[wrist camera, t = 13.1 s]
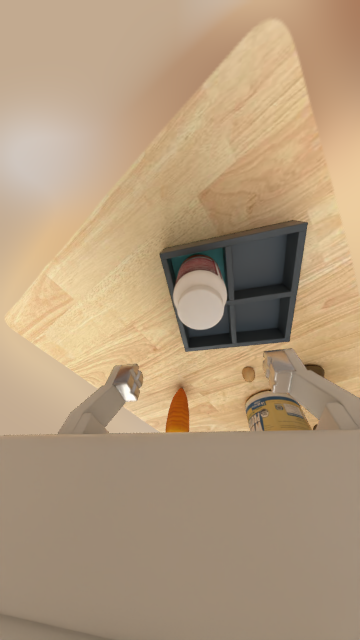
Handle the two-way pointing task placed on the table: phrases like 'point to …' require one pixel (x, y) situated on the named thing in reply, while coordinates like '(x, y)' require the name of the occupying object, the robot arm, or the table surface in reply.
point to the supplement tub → (275, 413)
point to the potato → (248, 374)
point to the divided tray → (246, 284)
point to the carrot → (178, 413)
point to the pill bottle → (199, 292)
